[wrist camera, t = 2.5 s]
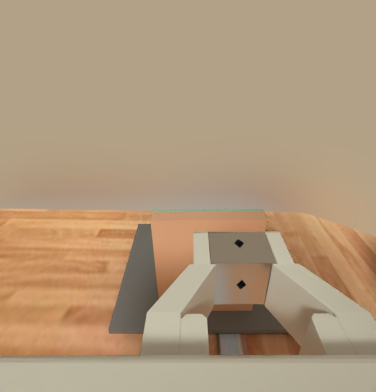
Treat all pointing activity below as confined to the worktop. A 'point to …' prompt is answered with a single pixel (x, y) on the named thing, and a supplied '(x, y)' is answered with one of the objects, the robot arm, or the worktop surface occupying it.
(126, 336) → the worktop surface
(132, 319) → the mat
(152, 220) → the tile
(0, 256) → the worktop surface
